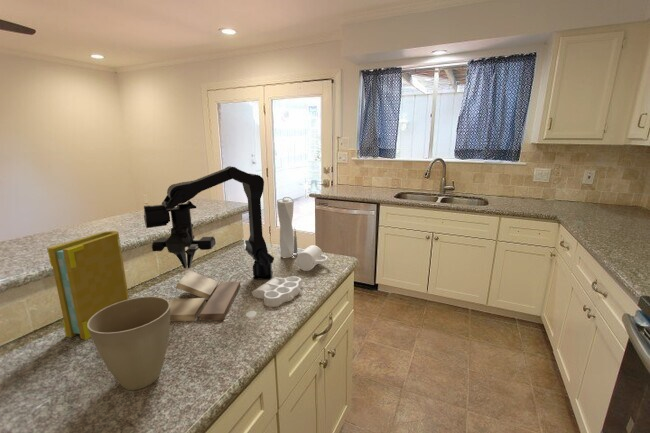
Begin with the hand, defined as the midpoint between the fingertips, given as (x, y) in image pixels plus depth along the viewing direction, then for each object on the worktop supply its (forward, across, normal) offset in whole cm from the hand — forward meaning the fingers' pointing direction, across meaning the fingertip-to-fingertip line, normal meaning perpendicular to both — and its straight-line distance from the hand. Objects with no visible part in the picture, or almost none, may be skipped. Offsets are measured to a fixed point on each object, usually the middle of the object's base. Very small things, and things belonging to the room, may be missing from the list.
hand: (187, 268), depth 106 cm
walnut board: (+10, +12, -6) cm, 17 cm away
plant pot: (+10, +3, -40) cm, 41 cm away
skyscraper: (+10, +31, +36) cm, 49 cm away
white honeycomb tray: (+11, +31, -1) cm, 32 cm away
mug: (+11, +43, +22) cm, 49 cm away
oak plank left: (+10, +2, -12) cm, 15 cm away
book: (+10, -20, -15) cm, 27 cm away
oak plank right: (+7, +2, 0) cm, 8 cm away
